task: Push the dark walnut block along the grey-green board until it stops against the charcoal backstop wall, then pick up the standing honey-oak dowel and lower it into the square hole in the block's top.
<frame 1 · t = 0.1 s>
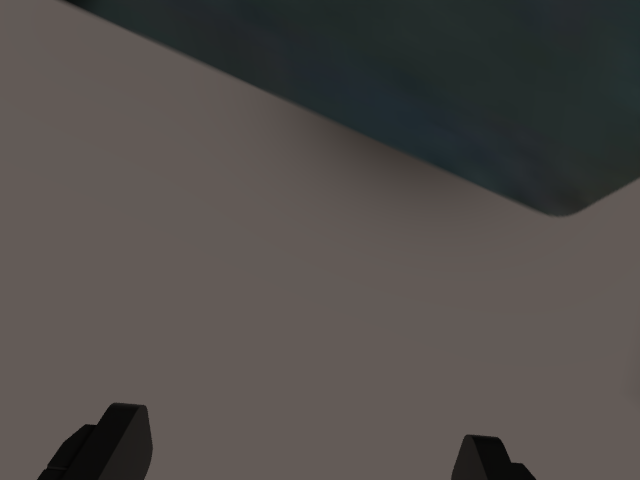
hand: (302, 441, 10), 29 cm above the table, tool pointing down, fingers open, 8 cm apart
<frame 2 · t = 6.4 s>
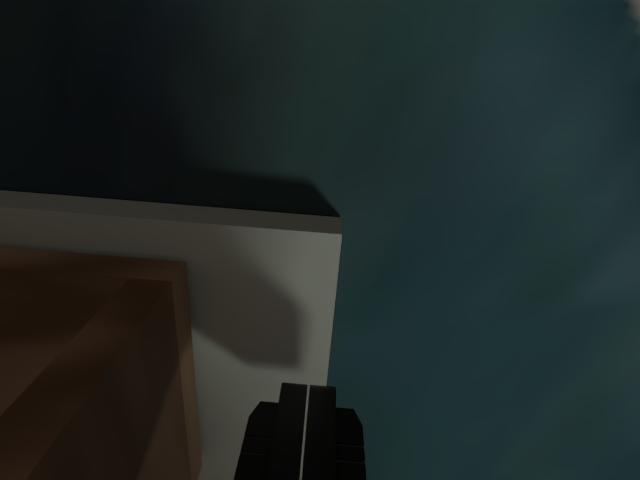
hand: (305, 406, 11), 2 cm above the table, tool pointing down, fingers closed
block: (5, 459, 9), point 5 cm above the table, slide at 3.5 cm, touching hand, wall
board: (161, 467, 16), on the table
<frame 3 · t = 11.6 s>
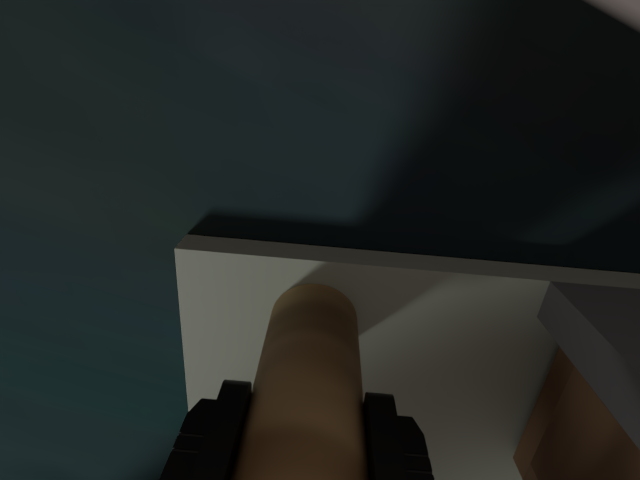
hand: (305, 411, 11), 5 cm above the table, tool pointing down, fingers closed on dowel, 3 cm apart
dowel: (313, 320, 15), point 1 cm above the table, touching board, gripper
board: (456, 386, 17), on the table
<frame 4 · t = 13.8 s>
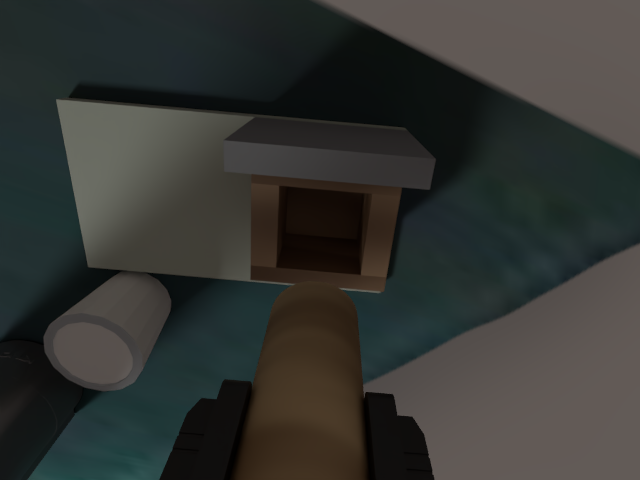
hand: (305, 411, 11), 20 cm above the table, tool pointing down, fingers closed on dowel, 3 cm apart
block: (323, 213, 25), point 5 cm above the table, slide at 3.5 cm
dowel: (314, 318, 15), point 16 cm above the table, touching gripper
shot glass: (139, 297, 34), on the table
board: (236, 199, 29), on the table
wall: (330, 135, 26), resting on board
when the fingers open (9 cm above the table, at t = 16.1 s): dowel drops 2 cm, resting on block.
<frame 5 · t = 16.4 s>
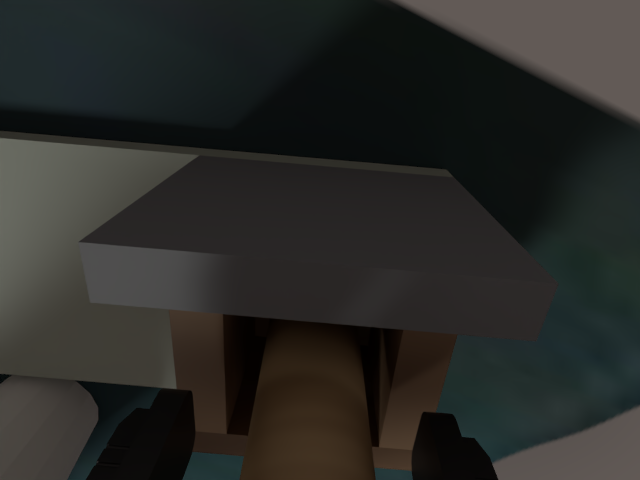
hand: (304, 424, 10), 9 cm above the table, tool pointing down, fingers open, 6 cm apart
block: (313, 322, 15), point 5 cm above the table, slide at 3.5 cm, touching dowel
dowel: (314, 292, 16), point 3 cm above the table, touching block
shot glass: (53, 402, 23), on the table
board: (182, 274, 19), on the table
wall: (324, 184, 16), resting on board
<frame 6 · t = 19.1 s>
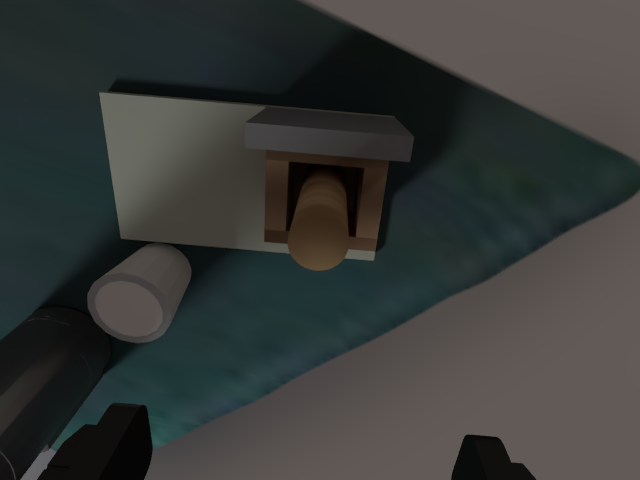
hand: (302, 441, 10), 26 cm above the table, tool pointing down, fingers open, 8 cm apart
block: (324, 187, 30), point 4 cm above the table, slide at 3.5 cm, touching dowel
dowel: (325, 179, 31), point 3 cm above the table, touching block
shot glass: (163, 267, 39), on the table
board: (250, 179, 34), on the table
wall: (330, 122, 31), resting on board
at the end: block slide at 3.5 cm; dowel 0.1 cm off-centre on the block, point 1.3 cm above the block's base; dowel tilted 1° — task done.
